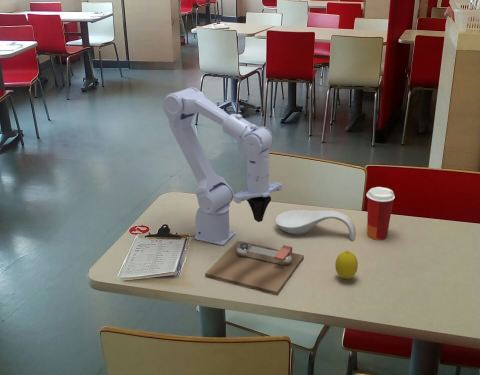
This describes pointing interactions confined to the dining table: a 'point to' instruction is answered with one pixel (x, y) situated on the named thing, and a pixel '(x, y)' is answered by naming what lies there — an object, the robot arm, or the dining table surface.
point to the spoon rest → (310, 220)
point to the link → (261, 254)
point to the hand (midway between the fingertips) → (258, 220)
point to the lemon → (346, 264)
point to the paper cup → (379, 212)
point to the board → (253, 270)
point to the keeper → (283, 253)
